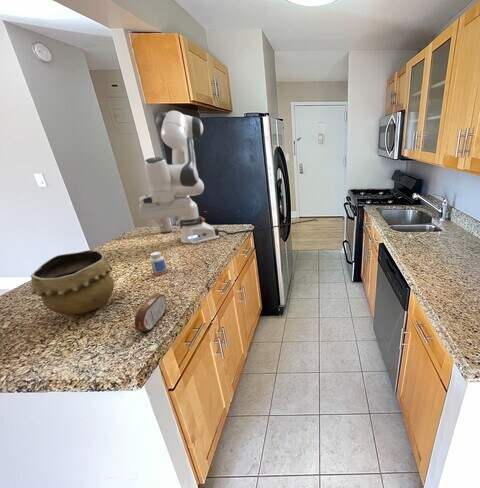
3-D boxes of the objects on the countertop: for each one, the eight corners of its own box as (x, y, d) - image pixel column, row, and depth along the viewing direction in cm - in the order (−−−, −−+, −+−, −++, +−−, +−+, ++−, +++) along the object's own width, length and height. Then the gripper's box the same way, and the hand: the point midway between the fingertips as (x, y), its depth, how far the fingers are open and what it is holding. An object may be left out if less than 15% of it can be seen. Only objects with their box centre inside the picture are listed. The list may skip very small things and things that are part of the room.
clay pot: (108, 321, 89) (89, 269, 81) (30, 333, 83) (2, 279, 76) (132, 290, 107) (117, 245, 100) (69, 298, 102) (49, 251, 94)
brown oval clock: (161, 308, 95) (156, 289, 92) (170, 308, 96) (165, 288, 93) (137, 337, 82) (130, 315, 78) (148, 336, 82) (141, 314, 79)
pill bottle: (169, 270, 124) (165, 251, 121) (162, 275, 119) (157, 256, 116) (159, 269, 125) (154, 250, 121) (151, 274, 120) (145, 255, 116)
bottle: (168, 233, 174) (158, 188, 163) (158, 233, 174) (147, 188, 163) (174, 230, 180) (164, 186, 169) (164, 230, 180) (154, 186, 169)
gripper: (188, 193, 121) (193, 221, 126) (135, 198, 111) (143, 228, 116) (190, 195, 116) (195, 224, 121) (135, 200, 106) (143, 232, 111)
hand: (170, 226), depth 119 cm, fingers open, 5 cm apart
